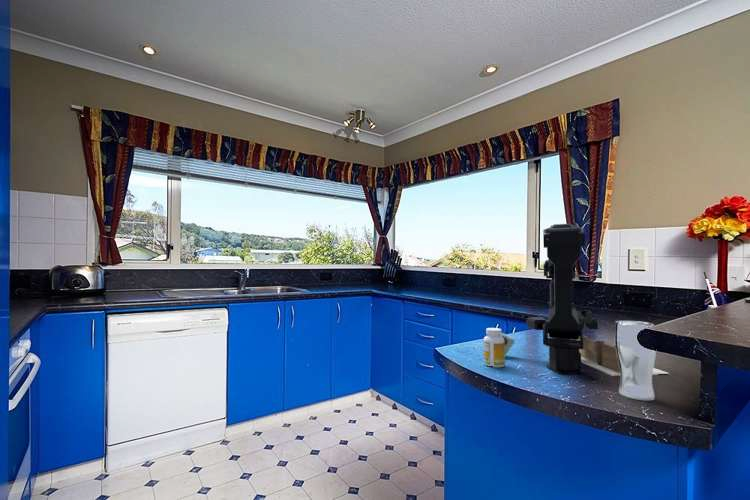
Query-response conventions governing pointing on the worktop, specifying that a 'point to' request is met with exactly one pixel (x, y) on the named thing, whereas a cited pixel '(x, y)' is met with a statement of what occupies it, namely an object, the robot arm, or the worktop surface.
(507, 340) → the pig figurine
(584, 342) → the fence panel
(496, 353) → the supplement bottle
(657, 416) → the worktop surface
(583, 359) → the card
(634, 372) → the beer glass
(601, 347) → the fixed fence
